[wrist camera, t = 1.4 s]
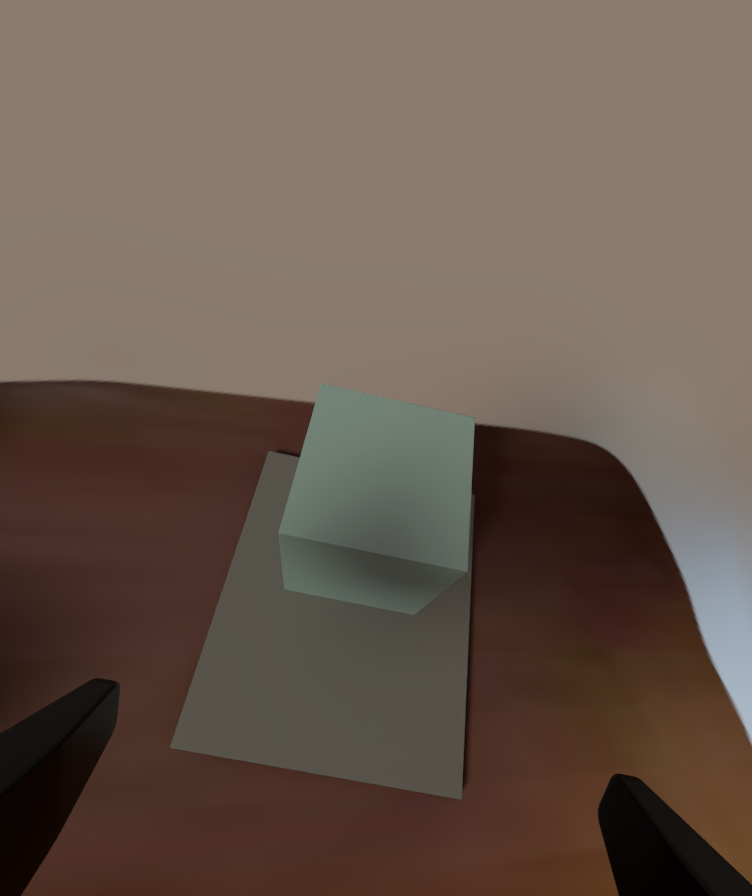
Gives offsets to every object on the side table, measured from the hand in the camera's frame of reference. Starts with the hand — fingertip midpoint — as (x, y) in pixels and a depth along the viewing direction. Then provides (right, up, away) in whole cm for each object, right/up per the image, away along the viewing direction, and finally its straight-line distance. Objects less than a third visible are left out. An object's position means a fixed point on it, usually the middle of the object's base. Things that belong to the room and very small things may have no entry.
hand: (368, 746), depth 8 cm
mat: (-1, -2, +14) cm, 14 cm away
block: (-1, +1, +15) cm, 15 cm away
